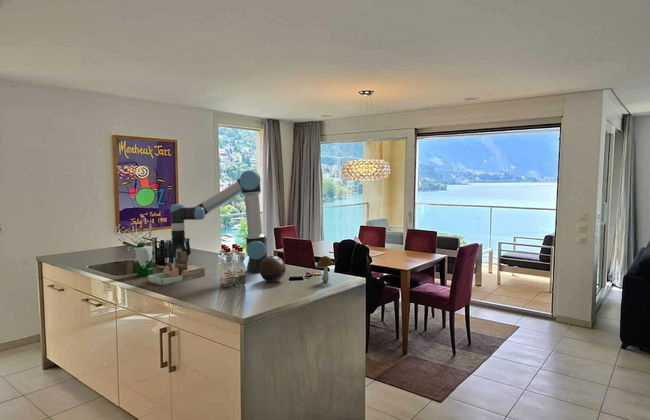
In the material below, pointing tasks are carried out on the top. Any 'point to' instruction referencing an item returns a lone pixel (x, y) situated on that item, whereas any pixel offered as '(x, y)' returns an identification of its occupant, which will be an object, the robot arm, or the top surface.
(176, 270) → the tile
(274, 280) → the wooden sphere
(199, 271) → the bench plate
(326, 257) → the mushroom
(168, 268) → the tile
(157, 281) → the tray
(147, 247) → the milk carton
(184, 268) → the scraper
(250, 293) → the top surface
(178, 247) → the protein box
